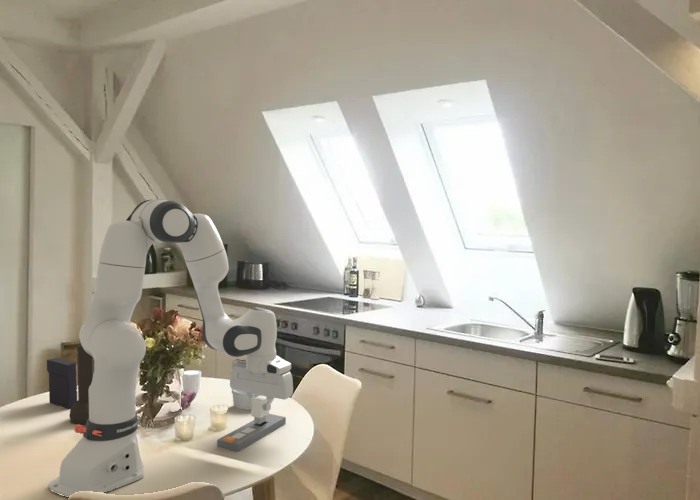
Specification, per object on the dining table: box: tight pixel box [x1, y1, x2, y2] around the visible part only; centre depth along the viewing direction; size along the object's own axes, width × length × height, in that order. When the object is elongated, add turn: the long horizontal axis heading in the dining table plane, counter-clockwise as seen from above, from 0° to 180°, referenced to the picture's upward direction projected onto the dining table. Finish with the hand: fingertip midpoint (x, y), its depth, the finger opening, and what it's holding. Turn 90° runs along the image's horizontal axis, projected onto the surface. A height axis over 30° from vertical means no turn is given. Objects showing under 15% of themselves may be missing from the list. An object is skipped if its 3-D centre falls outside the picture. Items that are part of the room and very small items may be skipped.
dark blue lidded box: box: [46, 357, 78, 410], centre depth 206 cm, size 11×4×15 cm, turn 58°
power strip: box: [216, 413, 287, 453], centre depth 180 cm, size 24×7×4 cm, turn 154°
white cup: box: [181, 369, 202, 394], centre depth 223 cm, size 7×7×7 cm
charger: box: [250, 396, 270, 424], centre depth 183 cm, size 4×3×7 cm
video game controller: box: [180, 390, 198, 411], centre depth 205 cm, size 10×5×7 cm, turn 169°
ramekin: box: [231, 389, 266, 411], centre depth 206 cm, size 13×13×7 cm
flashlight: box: [69, 342, 95, 426], centre depth 192 cm, size 10×25×10 cm
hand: (260, 408), depth 183 cm, fingers closed on charger, 3 cm apart
